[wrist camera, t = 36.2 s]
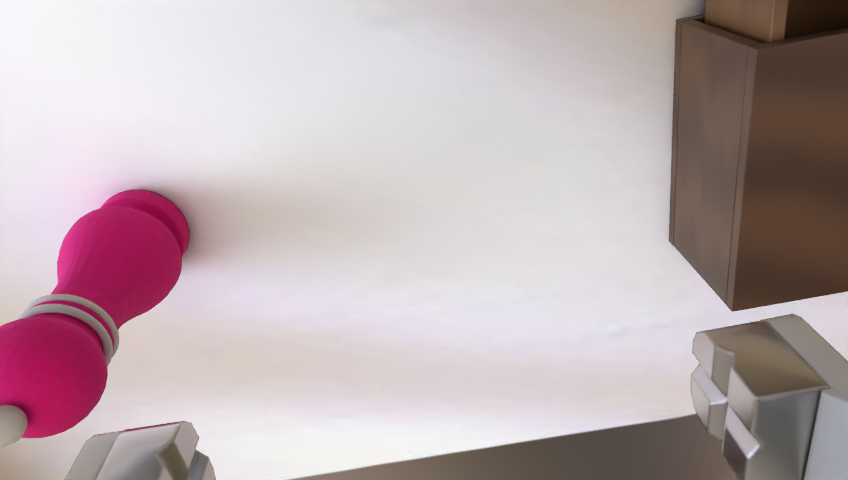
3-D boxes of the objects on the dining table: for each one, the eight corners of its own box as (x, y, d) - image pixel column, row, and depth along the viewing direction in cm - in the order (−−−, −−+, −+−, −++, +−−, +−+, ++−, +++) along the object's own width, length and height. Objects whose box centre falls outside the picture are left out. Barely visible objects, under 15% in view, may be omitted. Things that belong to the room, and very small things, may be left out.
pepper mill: (208, 203, 44) (95, 402, 26) (184, 284, 46) (68, 511, 29) (101, 167, 42) (-97, 355, 24) (83, 254, 45) (-105, 477, 27)
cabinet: (675, 19, 40) (756, 49, 31) (885, -19, 40) (1023, 0, 31) (668, 240, 48) (731, 312, 39) (843, 209, 47) (944, 274, 39)
